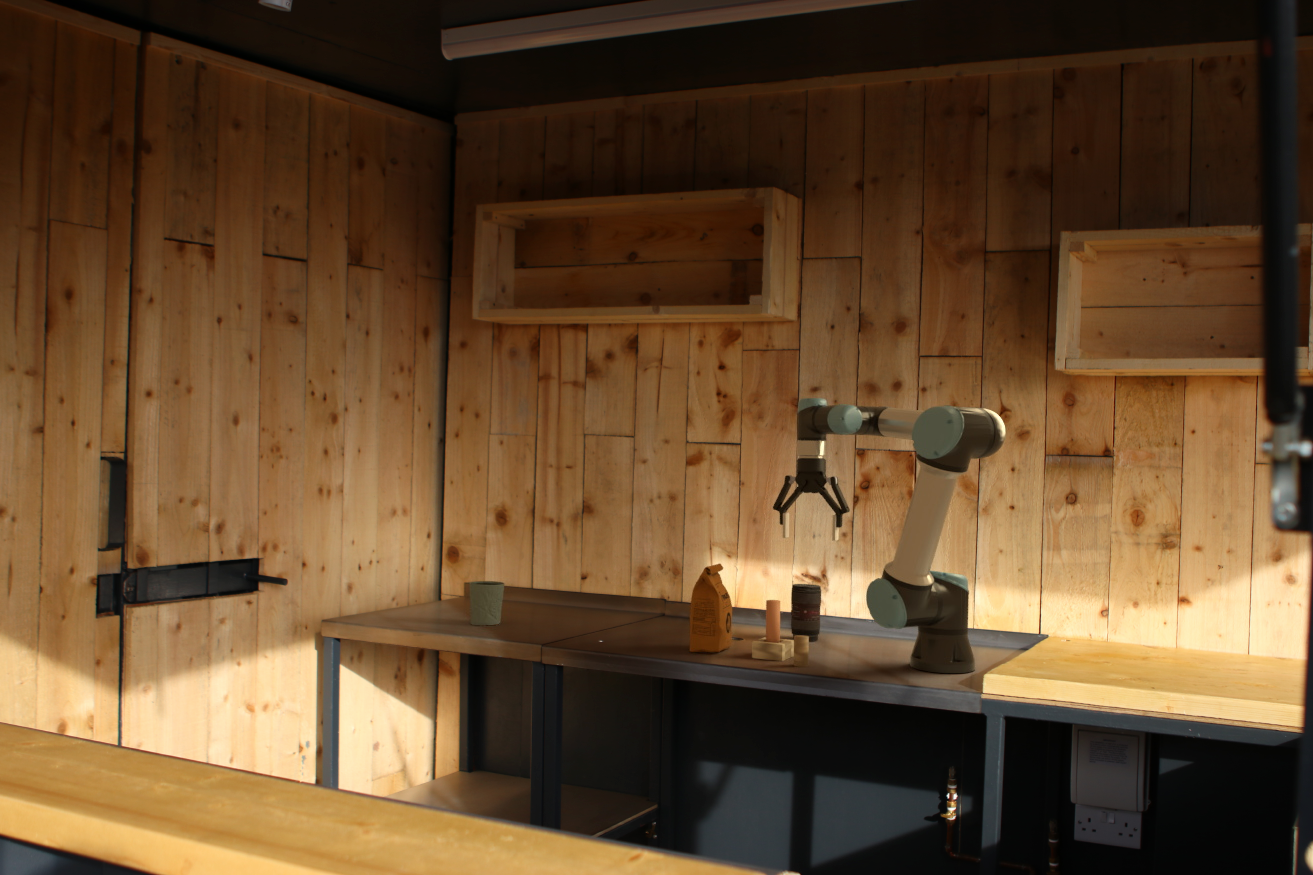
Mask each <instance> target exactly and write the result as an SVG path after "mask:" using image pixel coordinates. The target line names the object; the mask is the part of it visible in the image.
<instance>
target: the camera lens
mask: <svg viewBox="0 0 1313 875" xmlns="http://www.w3.org/2000/svg"><path fill="white" fill-rule="evenodd" d="M790 595H791V596H790V599H791V600H790V601H791V610H790V616H791V621H790V627H791V628H790V629H791V634H792V640H794V636H797V635H803V636H808V637H809V643H810V642H817V641H818V639H819V635H820V629H821V605H822V586H821V585H817V584H809V583H793V584H792V588H791V594H790Z"/></svg>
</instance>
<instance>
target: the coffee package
mask: <svg viewBox="0 0 1313 875" xmlns="http://www.w3.org/2000/svg"><path fill="white" fill-rule="evenodd" d="M723 570H724V567H723V565H722V563H717V564H712V565H707V566H705V567H704V568H703V571H702V573H701V574H700V575H699V577H698V579H697V581H696V582H695V584H694V586H693V589H692V594H691V599H690V611H689V652H692V653H707V652H708V653H712V654H713V653H719V652H721V651H725V650H727V649H730V647H731V645H732V643H733V640H732V638H733V637H732V635H733V634H732V632H733V630H732V626H733V625H732V621H733V605H732V604H733V603H732V600H731V596H730V594H729V591H728V590H727V589H726V586H725V585H724V584H723V579H722V577H721V574H720V572H721V571H723ZM708 653H707V654H708Z"/></svg>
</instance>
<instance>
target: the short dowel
mask: <svg viewBox="0 0 1313 875" xmlns="http://www.w3.org/2000/svg"><path fill="white" fill-rule="evenodd" d="M809 643H810V642H809V637H808V636H803V635H797V636H794V656H793V666H794V667H795V668H796V667H797V668H807V667H809V654H810V653H809V651H810V650H809V648H810V647H809V646H810V644H809Z"/></svg>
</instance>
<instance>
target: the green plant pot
mask: <svg viewBox="0 0 1313 875" xmlns="http://www.w3.org/2000/svg"><path fill="white" fill-rule="evenodd" d="M468 587H469V588H468V589H469V607H470V609H469V610H470V612H469V613H470V614H469V615H470V616H469V617H470V625H471V624H473V625H472V626H474V625H494V624H499V623H500V624H501V620H502V619H501V618H502V607H503V600H504V591H505V582H502V581H493V580H476V581H470V582H469V585H468ZM500 624H499V625H500Z"/></svg>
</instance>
